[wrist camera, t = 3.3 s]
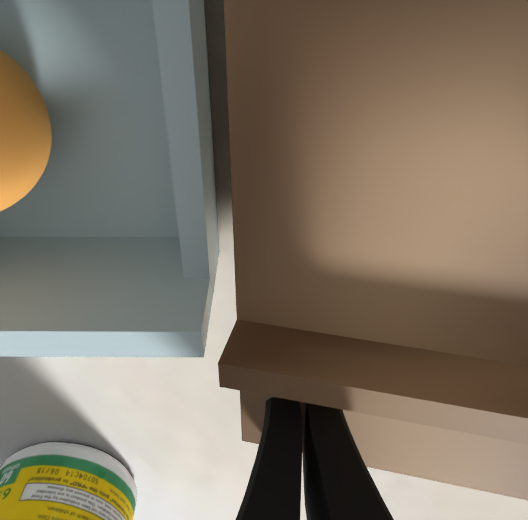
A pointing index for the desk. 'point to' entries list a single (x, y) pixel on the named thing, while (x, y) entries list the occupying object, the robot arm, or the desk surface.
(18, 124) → the ball
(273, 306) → the board
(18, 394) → the desk surface
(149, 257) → the light blue tray
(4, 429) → the desk surface
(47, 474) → the supplement bottle
